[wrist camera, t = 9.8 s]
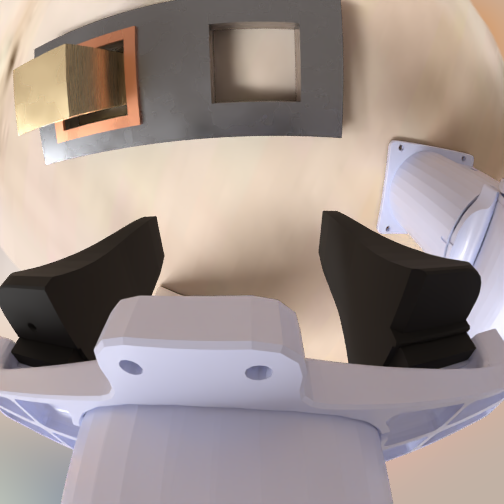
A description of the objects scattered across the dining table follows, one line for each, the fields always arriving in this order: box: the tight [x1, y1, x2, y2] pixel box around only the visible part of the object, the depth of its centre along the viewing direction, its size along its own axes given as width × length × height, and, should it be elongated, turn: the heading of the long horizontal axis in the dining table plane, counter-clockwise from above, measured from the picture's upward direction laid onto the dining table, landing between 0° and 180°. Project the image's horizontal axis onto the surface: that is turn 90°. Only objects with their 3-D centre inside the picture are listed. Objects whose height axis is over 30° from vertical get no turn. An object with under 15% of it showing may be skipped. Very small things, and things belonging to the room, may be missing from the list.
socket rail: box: [35, 0, 343, 165], centre depth 15 cm, size 22×10×2 cm, turn 91°
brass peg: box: [13, 43, 127, 135], centre depth 12 cm, size 4×4×8 cm
